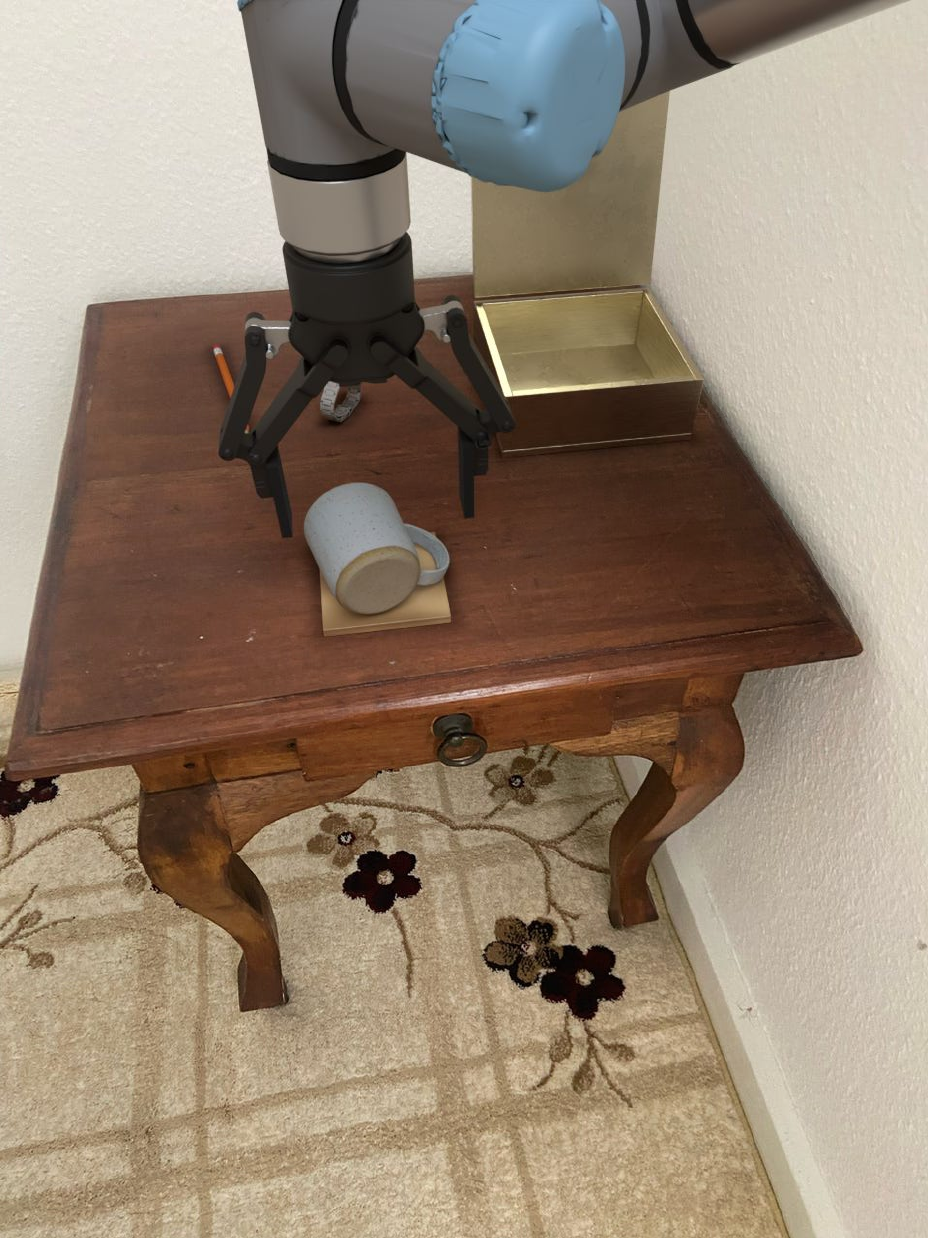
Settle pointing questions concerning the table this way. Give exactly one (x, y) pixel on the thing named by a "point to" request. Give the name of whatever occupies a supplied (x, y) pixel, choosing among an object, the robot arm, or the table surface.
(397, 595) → the ceramic mug
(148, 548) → the table surface
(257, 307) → the table surface
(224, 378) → the pencil
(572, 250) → the box lid
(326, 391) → the wristwatch
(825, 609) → the table surface
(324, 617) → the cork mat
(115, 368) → the table surface
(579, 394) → the open metal box
